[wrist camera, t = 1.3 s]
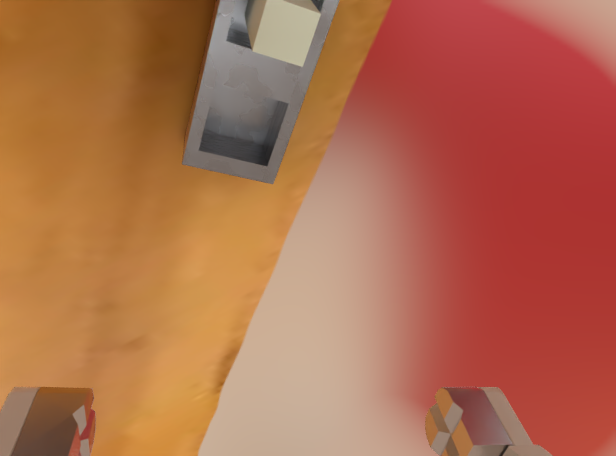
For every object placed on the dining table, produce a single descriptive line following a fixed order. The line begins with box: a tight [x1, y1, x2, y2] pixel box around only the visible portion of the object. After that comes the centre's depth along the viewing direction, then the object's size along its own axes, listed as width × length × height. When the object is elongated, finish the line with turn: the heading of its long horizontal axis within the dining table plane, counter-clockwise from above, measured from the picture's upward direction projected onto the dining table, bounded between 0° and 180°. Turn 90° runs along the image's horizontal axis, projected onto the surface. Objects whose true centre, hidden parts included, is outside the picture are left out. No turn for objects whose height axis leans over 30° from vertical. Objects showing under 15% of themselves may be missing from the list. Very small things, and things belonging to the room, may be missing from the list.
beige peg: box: [244, 0, 321, 67], centre depth 29 cm, size 3×3×8 cm
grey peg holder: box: [182, 0, 339, 184], centre depth 33 cm, size 16×7×4 cm, turn 160°
